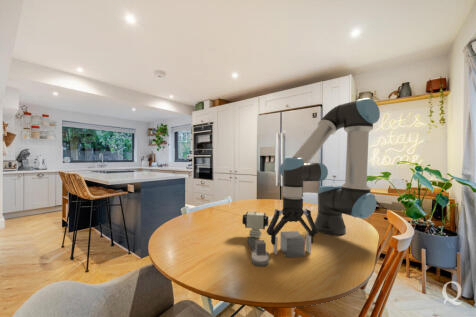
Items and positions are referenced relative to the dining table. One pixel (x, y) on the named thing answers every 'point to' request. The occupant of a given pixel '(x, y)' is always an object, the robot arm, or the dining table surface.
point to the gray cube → (292, 244)
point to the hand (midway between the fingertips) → (291, 252)
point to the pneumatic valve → (255, 222)
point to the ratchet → (258, 252)
